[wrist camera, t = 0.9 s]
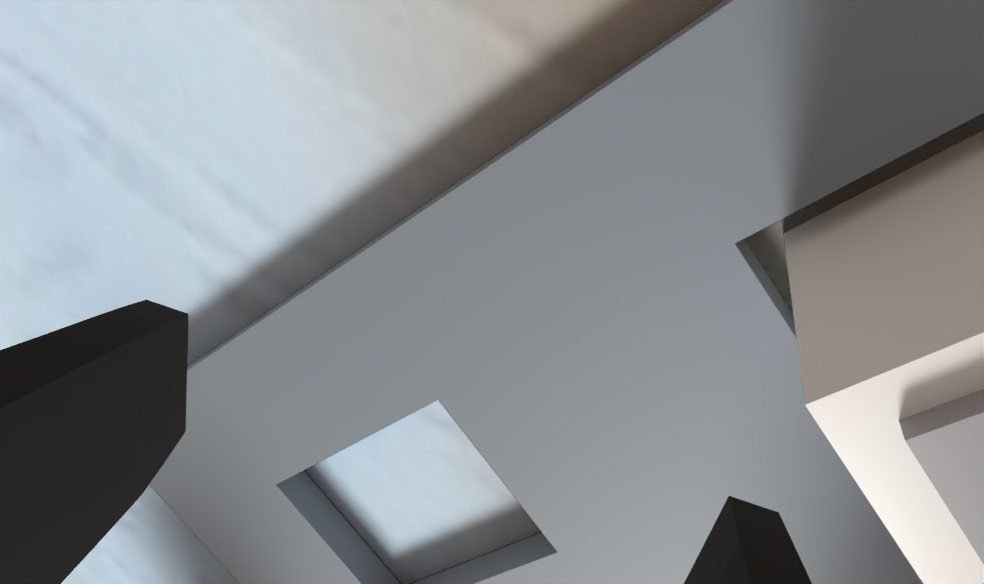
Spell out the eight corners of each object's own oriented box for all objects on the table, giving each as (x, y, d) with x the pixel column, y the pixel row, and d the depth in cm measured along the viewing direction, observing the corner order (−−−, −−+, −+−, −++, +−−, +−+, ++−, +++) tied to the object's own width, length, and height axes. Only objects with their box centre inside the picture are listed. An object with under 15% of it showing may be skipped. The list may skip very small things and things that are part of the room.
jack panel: (1521, 361, 15) (1599, 408, 14) (389, 704, 29) (372, 745, 27) (1228, -345, 12) (1291, -376, 11) (125, 409, 26) (90, 437, 25)
